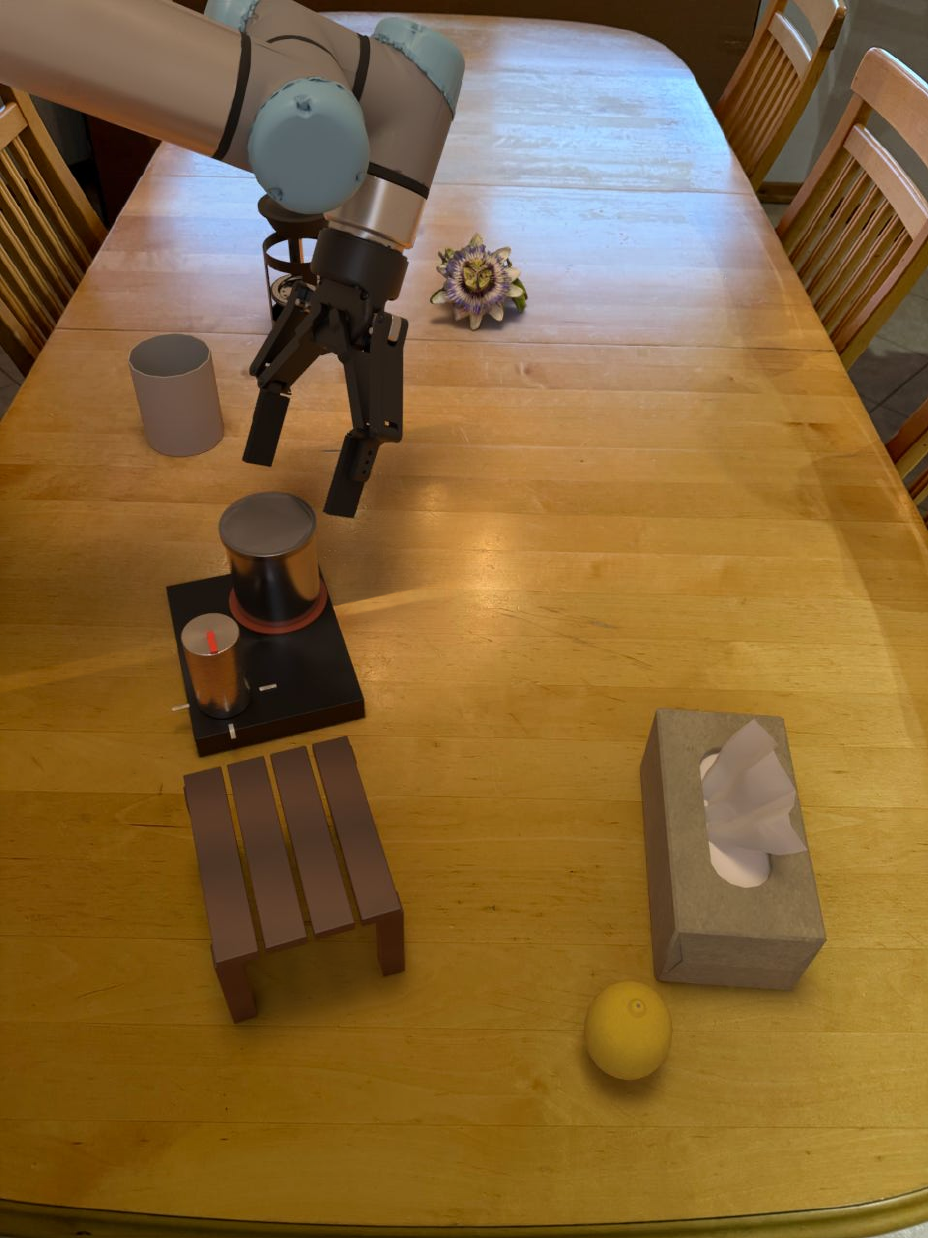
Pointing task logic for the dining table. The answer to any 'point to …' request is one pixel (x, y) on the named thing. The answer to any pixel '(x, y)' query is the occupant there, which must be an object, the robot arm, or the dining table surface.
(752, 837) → the tissue box
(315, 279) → the french press
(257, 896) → the drying rack
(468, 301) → the passion flower
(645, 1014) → the lemon
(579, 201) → the dining table surface
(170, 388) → the cup
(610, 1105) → the dining table surface
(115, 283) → the dining table surface
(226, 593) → the hob
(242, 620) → the burner
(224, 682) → the hob knob
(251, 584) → the pot
